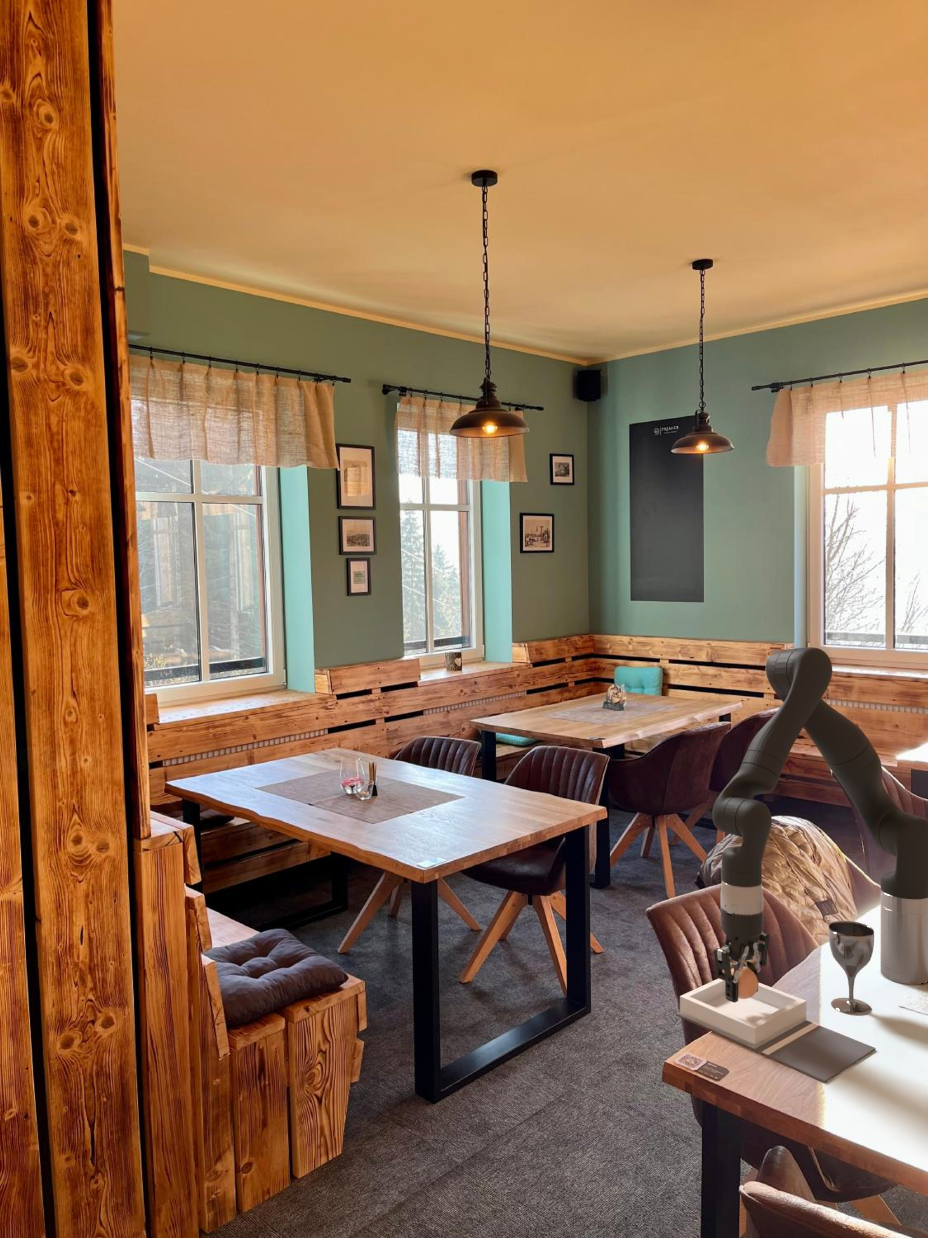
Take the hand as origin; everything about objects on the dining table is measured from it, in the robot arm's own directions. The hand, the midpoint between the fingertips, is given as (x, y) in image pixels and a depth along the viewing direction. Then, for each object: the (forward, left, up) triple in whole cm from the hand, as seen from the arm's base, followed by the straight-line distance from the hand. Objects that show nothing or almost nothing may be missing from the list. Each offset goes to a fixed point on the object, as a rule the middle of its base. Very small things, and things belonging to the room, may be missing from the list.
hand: (742, 995), depth 167 cm
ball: (0, 0, +2) cm, 2 cm away
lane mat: (0, +6, -5) cm, 8 cm away
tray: (0, 0, -4) cm, 4 cm away
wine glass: (-20, +10, -5) cm, 23 cm away
